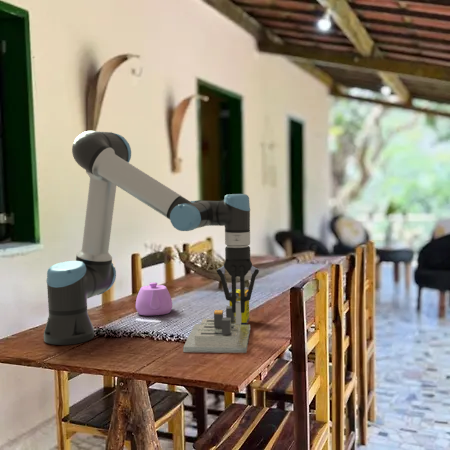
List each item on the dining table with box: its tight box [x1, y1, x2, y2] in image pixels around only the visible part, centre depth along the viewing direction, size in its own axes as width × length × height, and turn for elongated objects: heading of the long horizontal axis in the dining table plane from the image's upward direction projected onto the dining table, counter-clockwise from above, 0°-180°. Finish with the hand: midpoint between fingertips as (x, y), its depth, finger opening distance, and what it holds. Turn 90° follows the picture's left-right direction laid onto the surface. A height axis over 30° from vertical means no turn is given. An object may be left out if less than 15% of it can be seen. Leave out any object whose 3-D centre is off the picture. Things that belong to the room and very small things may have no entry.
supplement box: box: [228, 288, 250, 325], centre depth 193 cm, size 6×6×11 cm
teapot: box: [135, 282, 173, 316], centre depth 208 cm, size 13×20×11 cm
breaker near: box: [222, 317, 231, 334], centre depth 167 cm, size 2×3×4 cm
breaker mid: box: [213, 309, 224, 327], centre depth 174 cm, size 2×3×4 cm
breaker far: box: [225, 305, 235, 321], centre depth 180 cm, size 2×3×4 cm
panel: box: [182, 318, 251, 354], centre depth 174 cm, size 18×24×4 cm
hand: (238, 322), depth 173 cm, fingers closed
